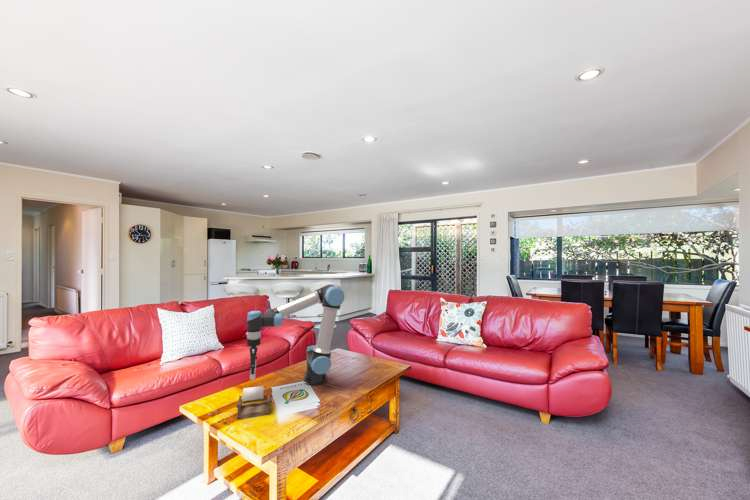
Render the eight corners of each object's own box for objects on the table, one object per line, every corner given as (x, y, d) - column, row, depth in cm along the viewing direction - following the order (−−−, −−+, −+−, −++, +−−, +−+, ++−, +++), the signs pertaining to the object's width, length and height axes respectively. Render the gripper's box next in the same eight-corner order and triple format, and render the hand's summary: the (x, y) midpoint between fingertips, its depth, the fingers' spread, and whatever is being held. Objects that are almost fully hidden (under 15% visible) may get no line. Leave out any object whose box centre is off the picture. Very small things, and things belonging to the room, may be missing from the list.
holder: (271, 404, 177) (271, 391, 177) (271, 414, 166) (271, 400, 166) (237, 409, 171) (237, 396, 171) (235, 419, 160) (235, 405, 161)
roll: (263, 393, 188) (263, 383, 187) (263, 401, 182) (263, 391, 180) (243, 396, 185) (243, 385, 183) (242, 404, 178) (242, 393, 177)
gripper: (247, 333, 194) (247, 368, 194) (245, 344, 171) (244, 384, 170) (260, 332, 197) (260, 366, 196) (260, 343, 173) (259, 382, 173)
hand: (253, 374), depth 183 cm, fingers open, 13 cm apart
